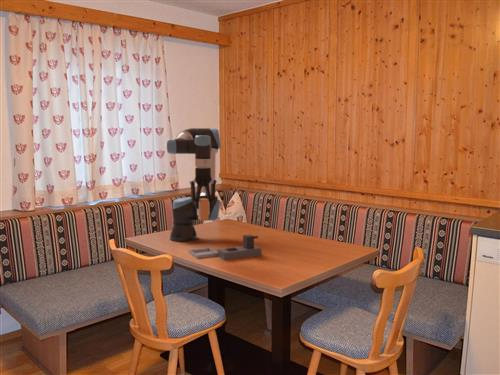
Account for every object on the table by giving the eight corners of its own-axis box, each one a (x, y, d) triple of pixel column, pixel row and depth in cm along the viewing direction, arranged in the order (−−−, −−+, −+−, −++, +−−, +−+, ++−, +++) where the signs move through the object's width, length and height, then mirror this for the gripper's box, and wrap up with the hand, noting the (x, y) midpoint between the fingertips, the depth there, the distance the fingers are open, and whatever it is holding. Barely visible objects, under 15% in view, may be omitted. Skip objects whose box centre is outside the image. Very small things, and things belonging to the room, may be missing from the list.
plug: (198, 218, 228) (197, 198, 227) (205, 217, 230) (205, 198, 229) (201, 220, 224) (200, 199, 223) (208, 219, 226) (208, 199, 225)
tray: (188, 253, 232) (188, 249, 232) (209, 251, 237) (209, 247, 237) (196, 259, 222) (196, 255, 222) (218, 256, 227) (218, 252, 227)
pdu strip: (217, 257, 227) (217, 237, 225) (253, 252, 236) (253, 233, 234) (224, 261, 220) (224, 240, 218) (261, 256, 229) (261, 236, 227)
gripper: (189, 168, 217) (189, 217, 220) (222, 167, 224) (222, 214, 228) (183, 167, 223) (184, 214, 226) (216, 166, 231) (216, 212, 234)
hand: (203, 214), depth 227 cm, fingers closed on plug, 4 cm apart
